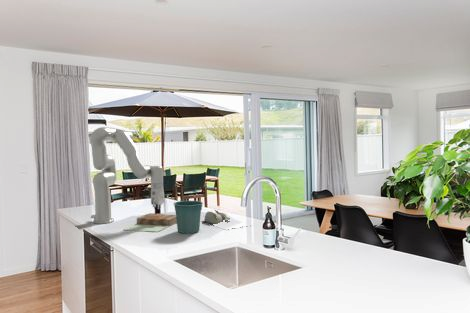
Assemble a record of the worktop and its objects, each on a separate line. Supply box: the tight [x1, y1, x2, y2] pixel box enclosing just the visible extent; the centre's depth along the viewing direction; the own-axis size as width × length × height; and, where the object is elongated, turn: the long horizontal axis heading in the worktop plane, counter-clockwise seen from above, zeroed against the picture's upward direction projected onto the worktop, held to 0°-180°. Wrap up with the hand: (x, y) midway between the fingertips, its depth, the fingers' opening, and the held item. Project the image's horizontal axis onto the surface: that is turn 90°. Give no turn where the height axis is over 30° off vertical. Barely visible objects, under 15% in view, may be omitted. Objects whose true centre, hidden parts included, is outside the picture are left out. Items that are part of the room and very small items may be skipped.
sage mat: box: [123, 223, 170, 233], centre depth 223 cm, size 22×14×1 cm, turn 74°
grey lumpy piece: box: [200, 209, 231, 227], centre depth 235 cm, size 33×8×20 cm
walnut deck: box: [136, 213, 177, 227], centre depth 237 cm, size 22×14×4 cm, turn 74°
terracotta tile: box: [144, 212, 164, 220], centre depth 232 cm, size 9×6×2 cm, turn 74°
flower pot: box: [173, 200, 204, 235], centre depth 214 cm, size 16×16×16 cm
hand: (157, 215), depth 236 cm, fingers closed
